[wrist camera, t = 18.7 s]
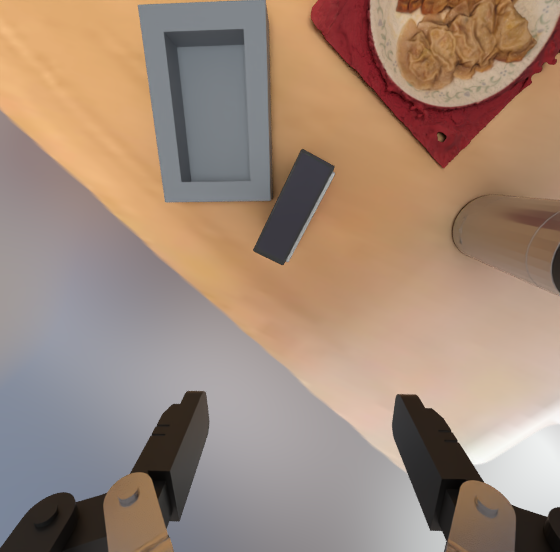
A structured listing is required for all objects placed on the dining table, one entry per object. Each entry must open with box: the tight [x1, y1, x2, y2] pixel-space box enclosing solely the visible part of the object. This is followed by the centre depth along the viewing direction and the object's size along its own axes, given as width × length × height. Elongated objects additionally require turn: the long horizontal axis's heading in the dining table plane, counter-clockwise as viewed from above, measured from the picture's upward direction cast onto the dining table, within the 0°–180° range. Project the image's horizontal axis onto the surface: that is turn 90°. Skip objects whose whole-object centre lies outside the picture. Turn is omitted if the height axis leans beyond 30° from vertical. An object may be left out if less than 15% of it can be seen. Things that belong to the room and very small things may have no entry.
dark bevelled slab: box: [253, 149, 335, 265], centre depth 36 cm, size 11×4×15 cm, turn 153°
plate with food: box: [311, 0, 560, 168], centre depth 33 cm, size 24×26×4 cm
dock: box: [138, 0, 273, 202], centre depth 37 cm, size 14×21×5 cm, turn 1°
